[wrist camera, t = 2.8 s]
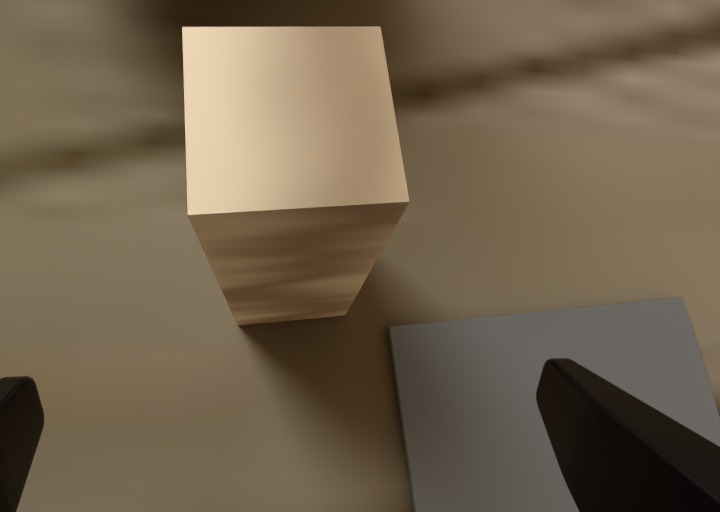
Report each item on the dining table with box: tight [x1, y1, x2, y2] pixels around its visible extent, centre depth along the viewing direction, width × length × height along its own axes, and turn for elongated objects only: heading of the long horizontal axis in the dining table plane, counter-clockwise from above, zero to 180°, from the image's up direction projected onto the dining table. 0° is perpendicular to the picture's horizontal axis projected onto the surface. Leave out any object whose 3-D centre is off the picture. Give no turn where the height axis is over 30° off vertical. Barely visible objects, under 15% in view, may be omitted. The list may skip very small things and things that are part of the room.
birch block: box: [182, 26, 409, 326], centre depth 17 cm, size 4×4×12 cm
